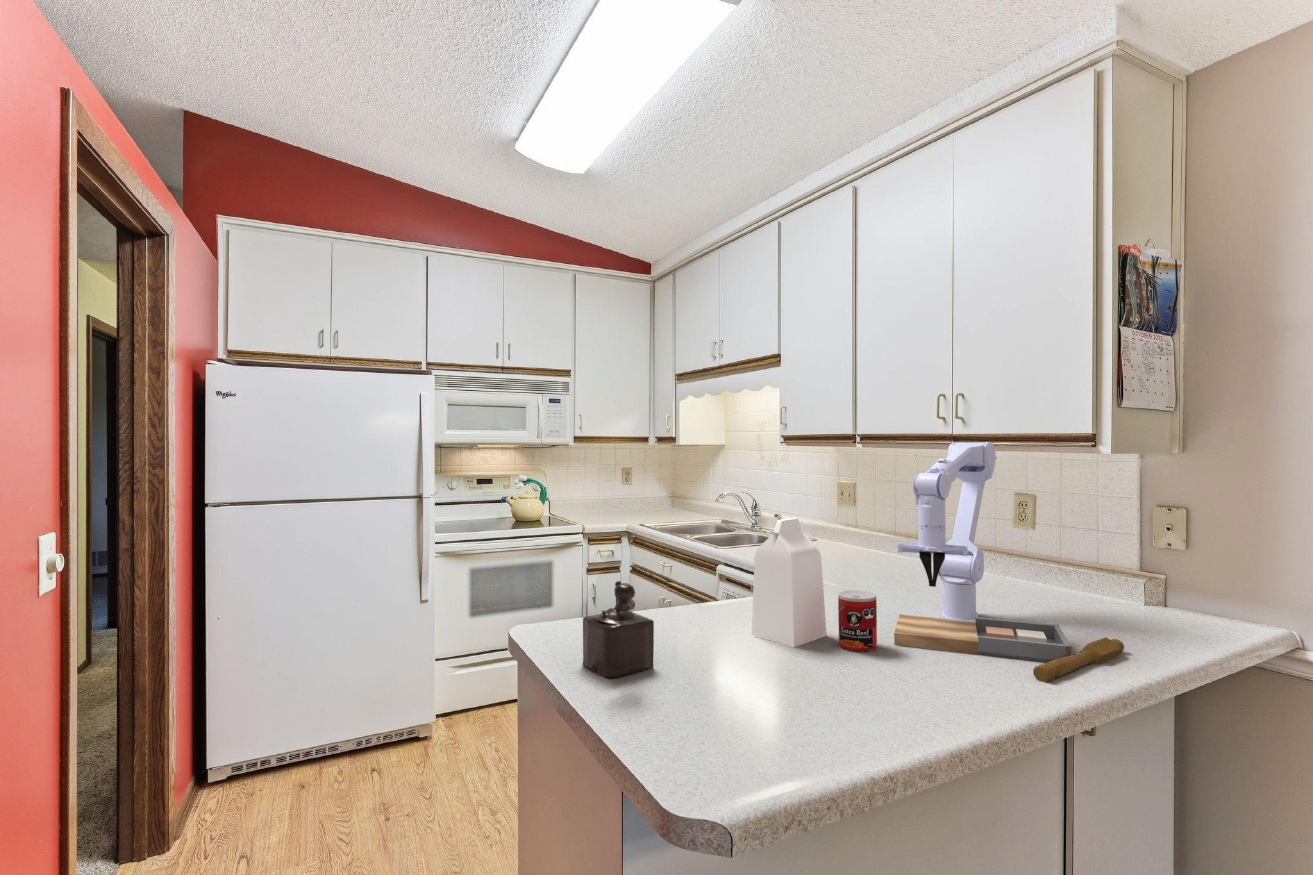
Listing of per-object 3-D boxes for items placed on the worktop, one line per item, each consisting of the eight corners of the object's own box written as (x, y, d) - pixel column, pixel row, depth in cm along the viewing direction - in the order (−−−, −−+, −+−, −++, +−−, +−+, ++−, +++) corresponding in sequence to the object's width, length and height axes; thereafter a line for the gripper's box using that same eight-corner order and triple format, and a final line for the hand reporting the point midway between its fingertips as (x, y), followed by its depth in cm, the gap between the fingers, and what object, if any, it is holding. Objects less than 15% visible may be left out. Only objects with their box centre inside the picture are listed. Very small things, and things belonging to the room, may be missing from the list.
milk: (793, 647, 135) (792, 523, 136) (751, 635, 144) (750, 519, 144) (826, 635, 143) (825, 519, 143) (784, 624, 152) (783, 514, 152)
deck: (899, 624, 151) (899, 614, 151) (975, 632, 144) (975, 621, 144) (894, 644, 136) (894, 632, 136) (978, 654, 130) (978, 641, 130)
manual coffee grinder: (578, 665, 126) (577, 573, 126) (625, 654, 132) (625, 566, 132) (621, 689, 113) (620, 587, 113) (671, 675, 120) (670, 579, 120)
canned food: (835, 649, 134) (834, 596, 134) (843, 638, 141) (842, 588, 141) (873, 654, 130) (872, 600, 130) (879, 643, 137) (879, 592, 137)
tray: (975, 632, 144) (975, 617, 144) (1058, 641, 138) (1058, 624, 138) (978, 654, 130) (978, 637, 130) (1071, 665, 123) (1071, 646, 123)
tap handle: (1036, 661, 116) (1115, 634, 132) (1028, 674, 117) (1107, 645, 133) (1052, 674, 114) (1130, 644, 129) (1044, 686, 115) (1122, 656, 131)
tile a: (985, 638, 139) (985, 626, 139) (1012, 640, 136) (1012, 629, 136) (987, 644, 134) (987, 632, 134) (1014, 647, 132) (1014, 635, 132)
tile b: (1016, 640, 136) (1015, 629, 136) (1043, 643, 134) (1043, 631, 134) (1018, 647, 132) (1018, 635, 132) (1046, 650, 130) (1046, 638, 130)
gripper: (896, 526, 145) (897, 586, 145) (967, 529, 139) (968, 592, 139) (898, 522, 152) (899, 580, 152) (966, 525, 146) (967, 585, 146)
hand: (932, 585), depth 146 cm, fingers closed
